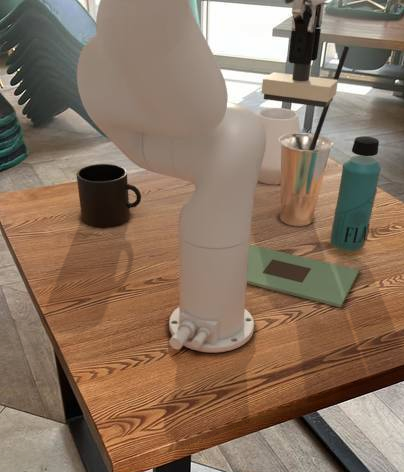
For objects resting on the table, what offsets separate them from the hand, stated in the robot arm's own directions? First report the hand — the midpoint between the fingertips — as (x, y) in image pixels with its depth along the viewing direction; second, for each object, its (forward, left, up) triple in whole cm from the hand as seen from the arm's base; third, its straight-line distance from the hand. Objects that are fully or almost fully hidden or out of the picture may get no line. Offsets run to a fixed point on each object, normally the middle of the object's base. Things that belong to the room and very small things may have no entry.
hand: (302, 60), depth 82 cm
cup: (+35, +14, -32) cm, 50 cm away
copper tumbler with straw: (+17, +2, -32) cm, 36 cm away
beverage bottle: (+8, -10, -32) cm, 35 cm away
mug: (0, +35, -32) cm, 48 cm away
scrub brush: (0, 0, -5) cm, 5 cm away
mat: (-5, -4, -32) cm, 32 cm away
